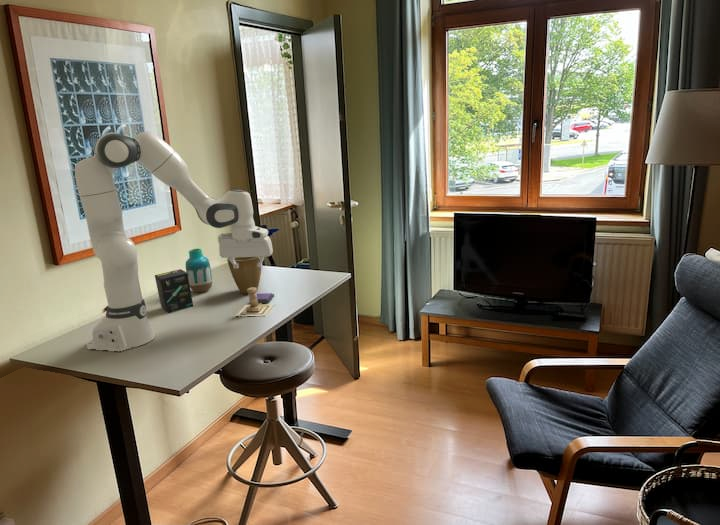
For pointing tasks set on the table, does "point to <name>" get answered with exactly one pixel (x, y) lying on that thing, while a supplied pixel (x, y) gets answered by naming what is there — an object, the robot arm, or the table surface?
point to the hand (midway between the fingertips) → (248, 268)
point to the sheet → (262, 313)
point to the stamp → (253, 301)
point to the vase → (198, 271)
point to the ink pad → (264, 297)
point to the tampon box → (174, 290)
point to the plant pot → (246, 272)
